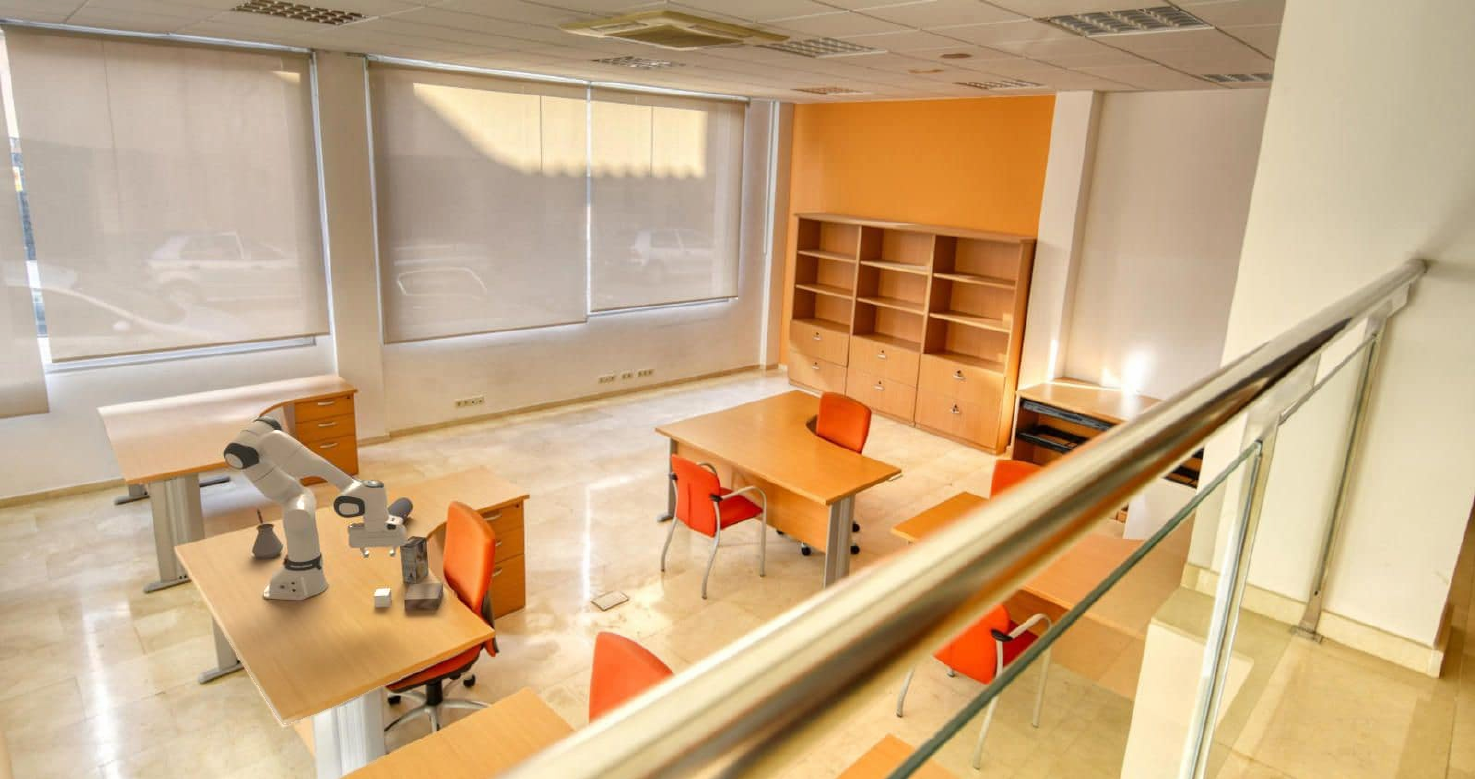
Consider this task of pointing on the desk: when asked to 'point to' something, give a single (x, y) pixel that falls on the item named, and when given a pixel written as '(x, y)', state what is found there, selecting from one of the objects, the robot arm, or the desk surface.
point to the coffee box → (414, 559)
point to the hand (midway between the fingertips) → (379, 556)
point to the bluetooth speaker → (401, 508)
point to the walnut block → (423, 596)
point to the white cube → (382, 597)
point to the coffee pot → (266, 541)
